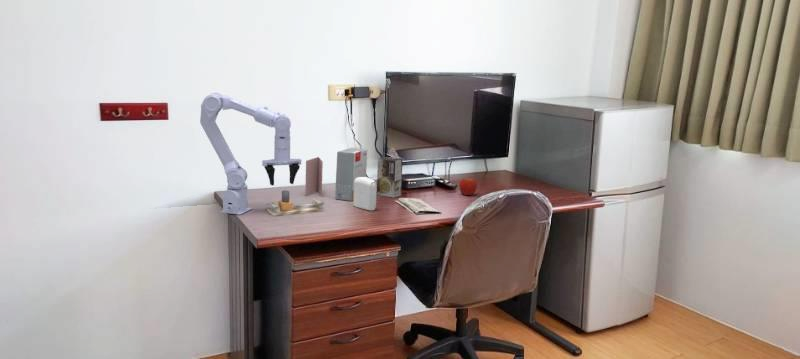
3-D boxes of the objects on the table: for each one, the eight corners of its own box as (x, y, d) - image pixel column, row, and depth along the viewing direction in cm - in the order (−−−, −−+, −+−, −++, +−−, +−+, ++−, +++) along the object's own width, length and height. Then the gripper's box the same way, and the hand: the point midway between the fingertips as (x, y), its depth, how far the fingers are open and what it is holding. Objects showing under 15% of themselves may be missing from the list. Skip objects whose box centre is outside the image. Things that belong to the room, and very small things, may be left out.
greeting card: (315, 190, 275) (316, 156, 272) (331, 192, 273) (332, 158, 270) (303, 196, 264) (304, 160, 261) (319, 198, 262) (320, 162, 259)
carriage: (282, 210, 234) (282, 192, 233) (278, 208, 238) (278, 190, 236) (292, 210, 236) (292, 192, 235) (288, 207, 240) (288, 189, 238)
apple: (472, 192, 286) (473, 176, 285) (479, 197, 279) (480, 179, 277) (456, 193, 284) (457, 176, 283) (462, 197, 277) (463, 179, 275)
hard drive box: (351, 201, 259) (353, 153, 255) (334, 199, 261) (335, 151, 257) (365, 194, 273) (367, 148, 269) (349, 192, 276) (351, 146, 272)
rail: (273, 216, 231) (273, 206, 230) (267, 211, 237) (267, 202, 236) (324, 211, 241) (324, 202, 241) (316, 207, 247) (316, 198, 247)
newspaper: (393, 202, 263) (394, 196, 263) (420, 204, 267) (421, 199, 267) (412, 216, 242) (413, 210, 242) (441, 218, 246) (442, 212, 246)
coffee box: (401, 195, 274) (403, 158, 271) (393, 198, 269) (395, 160, 265) (383, 192, 278) (385, 156, 275) (375, 194, 273) (377, 157, 270)
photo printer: (351, 206, 251) (352, 175, 249) (359, 204, 254) (360, 174, 252) (369, 211, 244) (370, 180, 242) (377, 210, 248) (378, 179, 245)
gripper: (267, 150, 227) (266, 187, 229) (304, 149, 234) (304, 185, 237) (260, 147, 232) (260, 183, 235) (297, 146, 240) (297, 181, 243)
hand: (281, 184), depth 236 cm, fingers open, 7 cm apart
